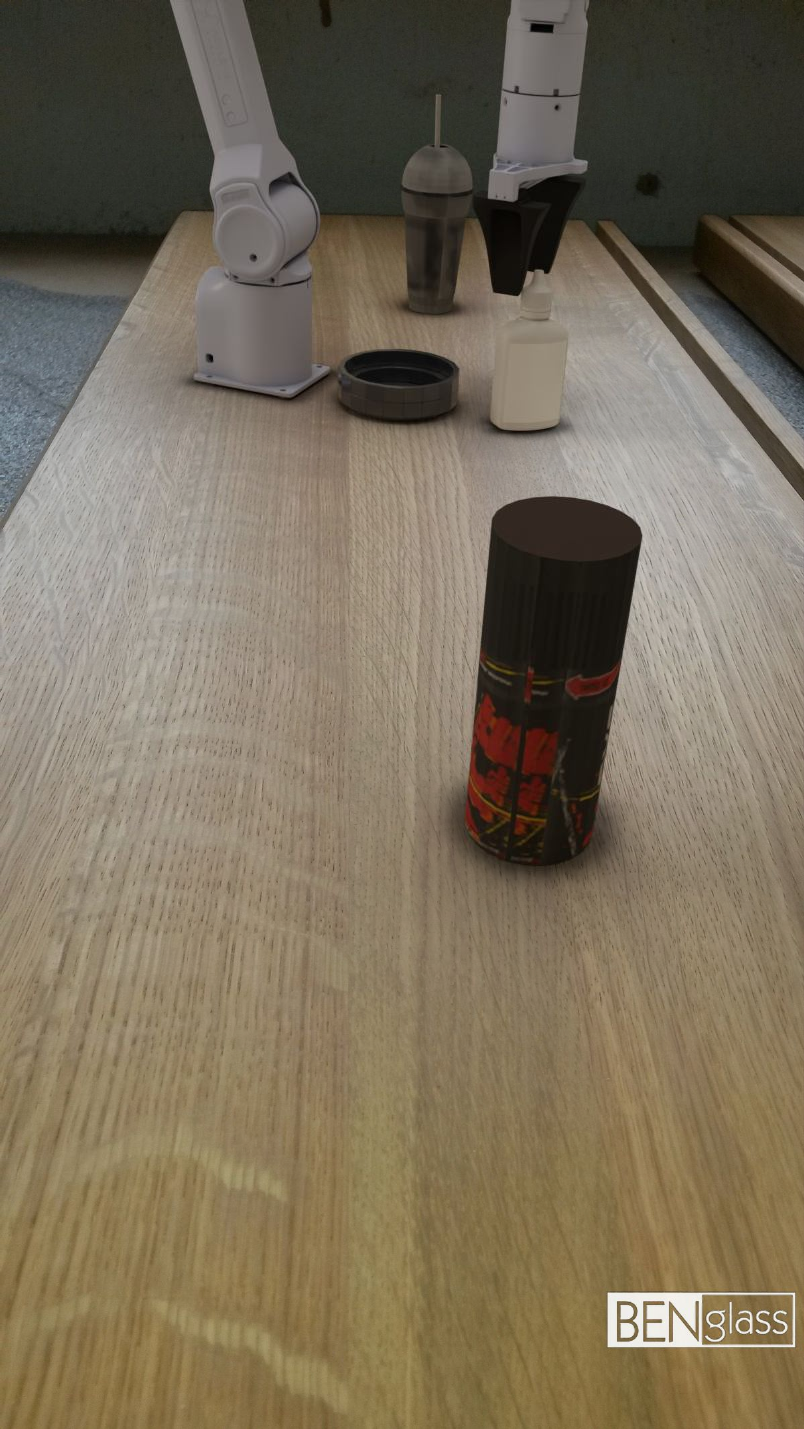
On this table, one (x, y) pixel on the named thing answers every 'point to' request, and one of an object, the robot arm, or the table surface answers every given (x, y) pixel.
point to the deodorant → (548, 674)
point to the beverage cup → (434, 222)
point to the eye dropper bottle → (530, 364)
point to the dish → (398, 384)
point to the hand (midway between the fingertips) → (522, 282)
